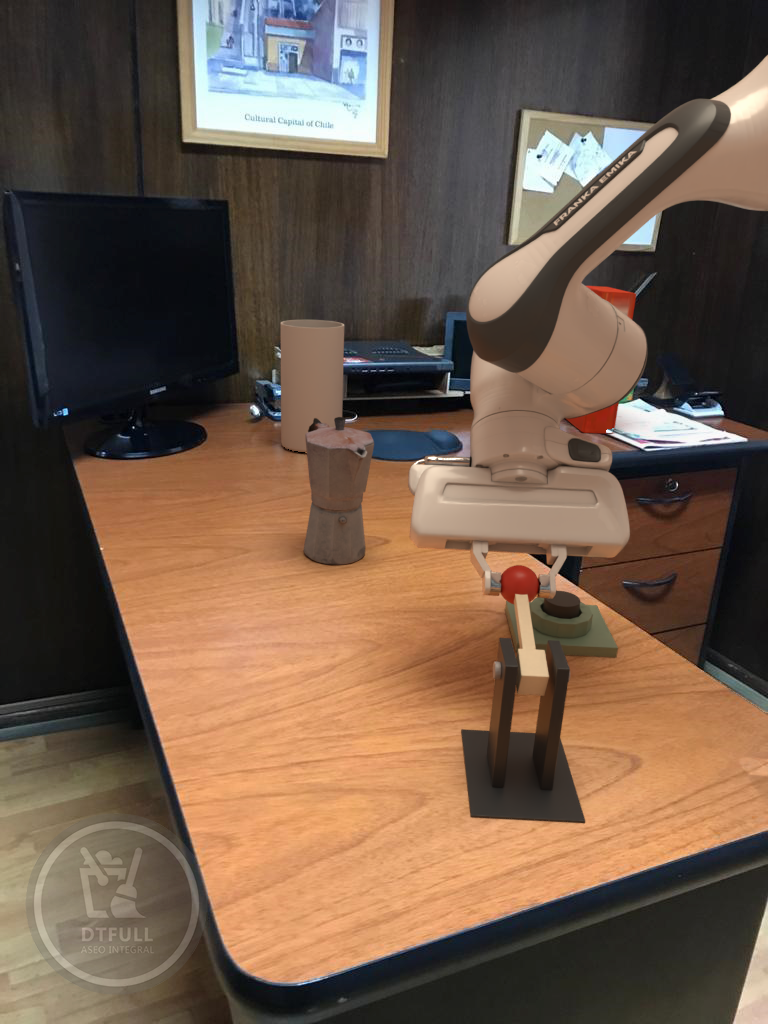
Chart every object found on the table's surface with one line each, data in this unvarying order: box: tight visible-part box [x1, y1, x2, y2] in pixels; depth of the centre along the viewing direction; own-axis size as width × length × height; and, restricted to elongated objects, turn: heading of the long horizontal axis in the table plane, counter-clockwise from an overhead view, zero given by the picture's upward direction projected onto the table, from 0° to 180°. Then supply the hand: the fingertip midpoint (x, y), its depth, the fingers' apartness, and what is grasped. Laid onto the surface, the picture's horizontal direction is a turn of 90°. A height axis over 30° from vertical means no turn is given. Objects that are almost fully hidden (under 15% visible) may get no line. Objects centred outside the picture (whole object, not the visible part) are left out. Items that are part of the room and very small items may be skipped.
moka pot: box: [303, 416, 375, 566], centre depth 107 cm, size 10×15×20 cm, turn 36°
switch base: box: [460, 637, 586, 824], centre depth 64 cm, size 11×9×13 cm
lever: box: [499, 564, 549, 697], centre depth 66 cm, size 13×4×4 cm, turn 179°
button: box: [543, 590, 581, 619], centre depth 88 cm, size 4×4×2 cm
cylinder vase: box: [280, 319, 345, 453], centre depth 156 cm, size 12×12×25 cm
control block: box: [504, 597, 619, 658], centre depth 89 cm, size 11×10×4 cm
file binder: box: [566, 285, 637, 434], centre depth 184 cm, size 8×17×32 cm, turn 5°
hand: (519, 595), depth 70 cm, fingers closed on lever, 3 cm apart
